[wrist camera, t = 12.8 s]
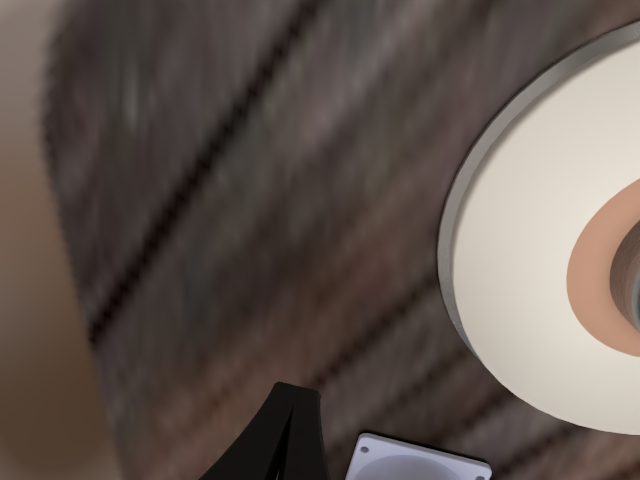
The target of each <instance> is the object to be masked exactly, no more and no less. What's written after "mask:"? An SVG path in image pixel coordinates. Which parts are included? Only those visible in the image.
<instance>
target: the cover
mask: <svg viewBox="0 0 640 480" xmlns="http://www.w3.org/2000/svg"><path fill="white" fill-rule="evenodd" d="M609 282H610V291H611V296H612V299H613V301H614V303H615V306H616V307H617V309H618V310H619V312H620V313H621V315H622V316H623V317H624V318H625V319H626V320H627V321H628V322H629V323H630V324H631V325H632V326H633V327H634V328H635V329H636V330H637V331H638V332H639V334H640V220H639V221H638V222H637V223H636V224H635V225H634V226H633V227H632V228H631V230H630V231H629V232H628V234H627V235H626V236H625V237H624V239H623V240H622V242H621V244H620V245H619V247H618V249H617V251H616V253H615V256H614V258H613V261H612V265H611V269H610V277H609Z"/></svg>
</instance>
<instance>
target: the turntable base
mask: <svg viewBox="0 0 640 480" xmlns="http://www.w3.org/2000/svg"><path fill="white" fill-rule="evenodd" d="M638 37H640V20H638V21H635V22H633V23H631V24H628V25H626V26H623V27H621V28H618V29H616V30H613V31H611V32H608V33H606V34H604V35H602V36H600V37H598V38H596V39H594V40H592V41H591V42H589V43H587V44H585V45H583V46H581V47H579V48H577V49H576V50H574V51H572V52H570V53H569V54H567V55H566V56H564V57H563V58H561V59H560V60H558V61H557V62H556V63H554V64H553V65H551V66H550V67H548V68H547V69H545V70H544V71H542V72H541V73H540V74H538V75H537V76H536V77H535V78H534V79H533V80H531V81H530V82H529V83H528V84H527V85H526V86H524V87H523V88H522V89H521V90H520V91H519V92H517V93H516V94H515V95H514V96H513V97H512V98H511V99H510V100H509V101H508V102H507V103H506V104H505V105H504V106H503V108H502V109H501V110H500V111H499V112H498V113H497V114H496V115H495V116H494V117H493V118H492V119H491V120H490V122H489V123H488V124H487V126H486V127H485V128H484V130H483V131H482V132H481V134H480V135H479V136H478V138H477V139H476V141H475V142H474V143H473V145H472V146H471V148H470V149H469V151H468V153H467V155H466V156H465V158H464V160H463V162H462V163H461V165H460V167H459V169H458V171H457V172H456V175H455V177H454V180H453V182H452V184H451V187H450V189H449V192H448V194H447V197H446V200H445V203H444V207H443V211H442V215H441V219H440V223H439V231H438V240H437V271H438V276H439V282H440V287H441V292H442V296H443V299H444V302H445V305H446V308H447V310H448V313H449V316H450V318H451V320H452V322H453V324H454V326H455V328H456V330H457V331H458V333H459V335H460V337H461V338H462V340H463V341H464V342H465V344H466V345H467V346H468V348H469V349H470V350H471V351H472V353H473V354H474V355H475V356H476V357H477V358H478V359H479V360H480V361H481V359H480V358H479V356H478V355H477V354H476V352H475V351H474V349H473V347H472V345H471V343H470V341H469V339H468V337H467V335H466V333H465V330H464V328H463V325H462V322H461V318H460V315H459V312H458V309H457V305H456V302H455V298H454V295H453V291H452V286H451V278H450V270H449V257H450V241H451V236H452V230H453V224H454V220H455V217H456V213H457V210H458V207H459V204H460V201H461V198H462V195H463V193H464V191H465V189H466V187H467V185H468V183H469V181H470V179H471V177H472V174H473V172H474V171H475V169H476V168H477V166H478V164H479V163H480V161H481V160H482V158H483V157H484V155H485V153H486V152H487V150H488V149H489V147H490V146H491V145H492V143H493V142H494V141H495V140H496V139H497V137H498V136H499V135H500V134H501V132H502V131H503V130H504V129H505V128H506V126H507V125H508V124H509V123H510V122H511V121H512V120H513V119H514V118H515V117H516V116H517V115H518V114H519V113H520V112H521V111H522V110H523V109H524V108H525V107H526V106H527V105H528V104H529V103H530V102H531V101H532V100H533V99H534V98H536V97H537V96H538V95H540V94H541V93H542V92H543V91H545V90H546V89H547V88H549V87H550V86H551V85H552V84H554V83H555V82H556V81H557V80H559V79H560V78H561V77H563V76H565V75H566V74H568V73H569V72H571V71H573V70H574V69H576V68H577V67H579V66H581V65H582V64H584V63H585V62H587V61H589V60H590V59H592V58H594V57H596V56H598V55H600V54H602V53H604V52H606V51H608V50H610V49H612V48H615V47H617V46H619V45H621V44H623V43H625V42H627V41H630V40H633V39H635V38H638ZM481 362H482V361H481ZM482 363H483V362H482Z"/></svg>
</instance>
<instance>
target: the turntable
mask: <svg viewBox="0 0 640 480" xmlns="http://www.w3.org/2000/svg"><path fill="white" fill-rule="evenodd" d="M639 220H640V37H638V38H635V39H633V40H630V41H627V42H625V43H623V44H621V45H619V46H617V47H615V48H612V49H610V50H608V51H606V52H604V53H602V54H600V55H598V56H596V57H594V58H592V59H590V60H589V61H587V62H585V63H584V64H582V65H581V66H579V67H577V68H576V69H574V70H573V71H571V72H569V73H568V74H566V75H565V76H563V77H561V78H560V79H559V80H557V81H556V82H555V83H554V84H552V85H551V86H550V87H549V88H547V89H546V90H545V91H543V92H542V93H541V94H540V95H538V96H537V97H536V98H534V99H533V100H532V101H531V102H530V103H529V104H528V105H527V106H526V107H525V108H524V109H523V110H522V111H521V112H520V113H519V114H518V115H517V116H516V117H515V118H514V119H513V120H512V121H511V122H510V123H509V124H508V125H507V126H506V128H505V129H504V130H503V131H502V132H501V134H500V135H499V136H498V137H497V139H496V140H495V141H494V142H493V143H492V145H491V146H490V147H489V149H488V150H487V152H486V153H485V155H484V157H483V158H482V160H481V161H480V163H479V164H478V166H477V168H476V169H475V171H474V172H473V174H472V177H471V179H470V181H469V183H468V185H467V187H466V189H465V191H464V193H463V195H462V198H461V201H460V204H459V207H458V210H457V213H456V217H455V220H454V224H453V230H452V236H451V241H450V257H449V270H450V278H451V286H452V291H453V295H454V298H455V302H456V305H457V309H458V312H459V315H460V318H461V322H462V325H463V328H464V330H465V333H466V335H467V337H468V339H469V341H470V343H471V345H472V347H473V349H474V351H475V352H476V354H477V355H478V356H479V358H480V359H481V361H482V362H483V364H484V365H485V367H486V368H487V369H488V370H489V371H490V372H491V373H492V374H493V375H494V376H495V378H496V379H497V380H498V381H499V382H500V383H501V384H503V385H504V386H505V387H506V388H508V389H509V390H510V391H511V392H512V393H514V394H515V395H516V396H518V397H519V398H521V399H522V400H524V401H526V402H527V403H529V404H530V405H532V406H534V407H535V408H537V409H539V410H541V411H543V412H546V413H548V414H550V415H552V416H554V417H556V418H559V419H562V420H565V421H568V422H571V423H574V424H577V425H580V426H584V427H588V428H593V429H597V430H602V431H607V432H615V433H623V434H632V435H640V334H639V332H638V331H637V330H636V329H635V328H634V327H633V326H632V325H631V324H630V323H629V322H628V321H627V320H626V319H625V318H624V317H623V316H622V315H621V313H620V312H619V310H618V309H617V307H616V306H615V303H614V301H613V299H612V296H611V291H610V282H609V277H610V269H611V265H612V261H613V258H614V256H615V253H616V251H617V249H618V247H619V245H620V244H621V242H622V240H623V239H624V237H625V236H626V235H627V234H628V232H629V231H630V230H631V228H632V227H633V226H634V225H635V224H636V223H637V222H638V221H639Z"/></svg>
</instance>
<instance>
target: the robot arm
mask: <svg viewBox="0 0 640 480" xmlns="http://www.w3.org/2000/svg"><path fill="white" fill-rule="evenodd" d="M320 398H321V395H320V393H319V392H318V391H315V390H311V389H307V388H303V387H299V386H295V385H291V384H287V383H283V382H277V383H275V384H274V386H273V388H272V390H271V392H270V394H269V396H268V397H267V399H266V400H265V402H264V404H263V405H262V406H261V408H260V409H259V411H258V412H257V414H256V415H255V416H254V418H253V419H252V420H251V422H250V423H249V424H248V425H247V427H246V428H245V429H244V431H243V432H242V433H241V434H240V436H239V437H238V438H237V439H236V440H235V441H234V443H233V444H232V445H231V446H230V447H229V448H228V449H227V451H226V452H225V453H224V454H223V455H222V456H221V457H220V458H219V459H218V461H217V462H216V463H215V464H214V465H213V466H212V467H211V468H210V469H209V470H208V471H207V472H206V473H205V474H204V475H203V476H202V477H201V478H200V479H199V480H276V477H277V474H278V471H279V475H278V480H330V475H329V471H328V466H327V461H326V455H325V449H324V443H323V436H322V427H321V416H320ZM491 474H492V472H491V468H490V466H489V465H488V464H487V463H484V462H480V461H476V460H472V459H468V458H464V457H460V456H456V455H452V454H448V453H444V452H440V451H437V450H433V449H429V448H425V447H421V446H417V445H413V444H409V443H405V442H401V441H397V440H393V439H389V438H385V437H381V436H377V435H373V434H369V433H363V434H361V435H360V436H359V438H358V441H357V444H356V447H355V450H354V453H353V456H352V460H351V463H350V466H349V469H348V472H347V475H346V478H345V480H489V478H490V476H491Z"/></svg>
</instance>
